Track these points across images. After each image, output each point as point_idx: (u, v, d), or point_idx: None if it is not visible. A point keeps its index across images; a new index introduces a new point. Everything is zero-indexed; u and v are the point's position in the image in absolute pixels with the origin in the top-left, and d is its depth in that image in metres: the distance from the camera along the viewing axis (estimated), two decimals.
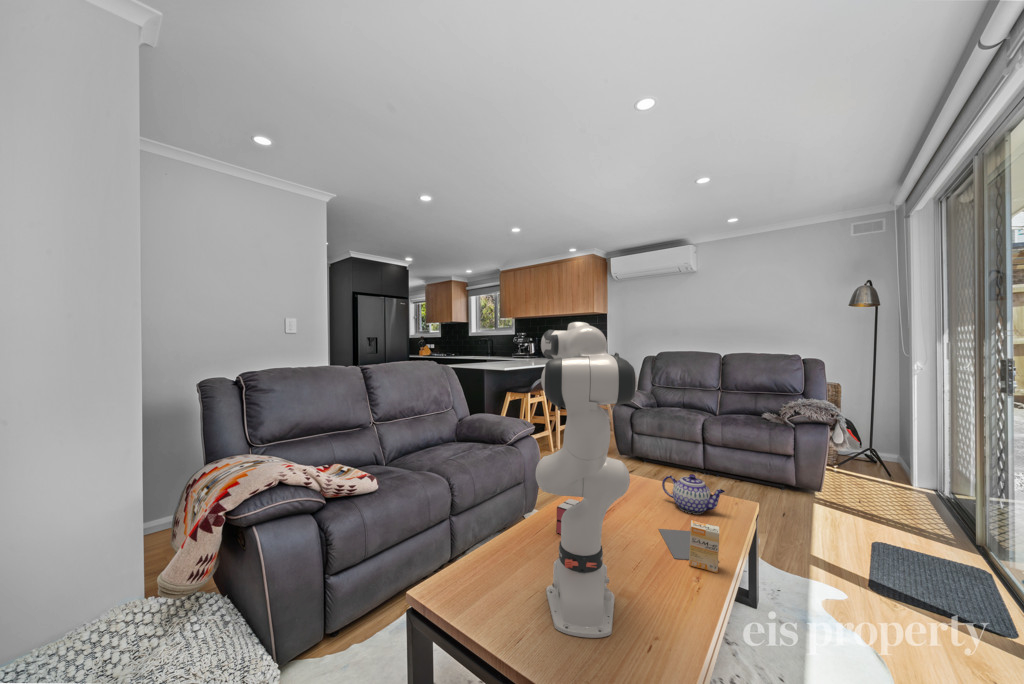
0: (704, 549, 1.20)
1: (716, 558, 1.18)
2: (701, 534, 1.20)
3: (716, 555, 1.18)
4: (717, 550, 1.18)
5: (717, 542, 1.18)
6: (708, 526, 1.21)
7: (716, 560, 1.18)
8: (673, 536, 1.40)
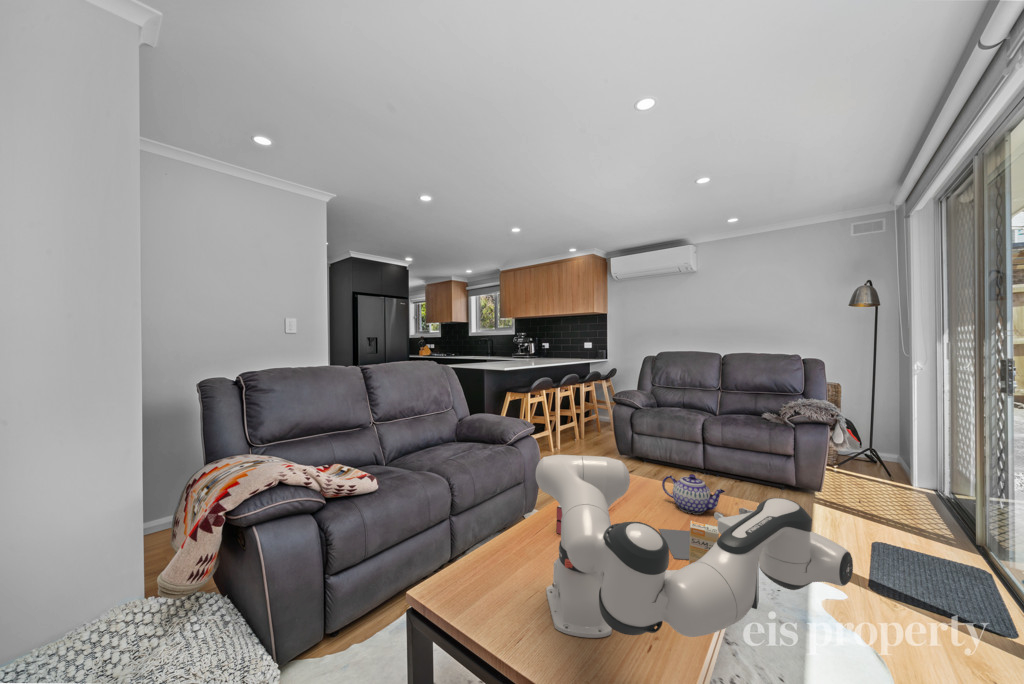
0: (703, 550, 1.19)
1: None
2: (700, 535, 1.20)
3: None
4: None
5: None
6: (707, 526, 1.21)
7: None
8: (673, 536, 1.40)
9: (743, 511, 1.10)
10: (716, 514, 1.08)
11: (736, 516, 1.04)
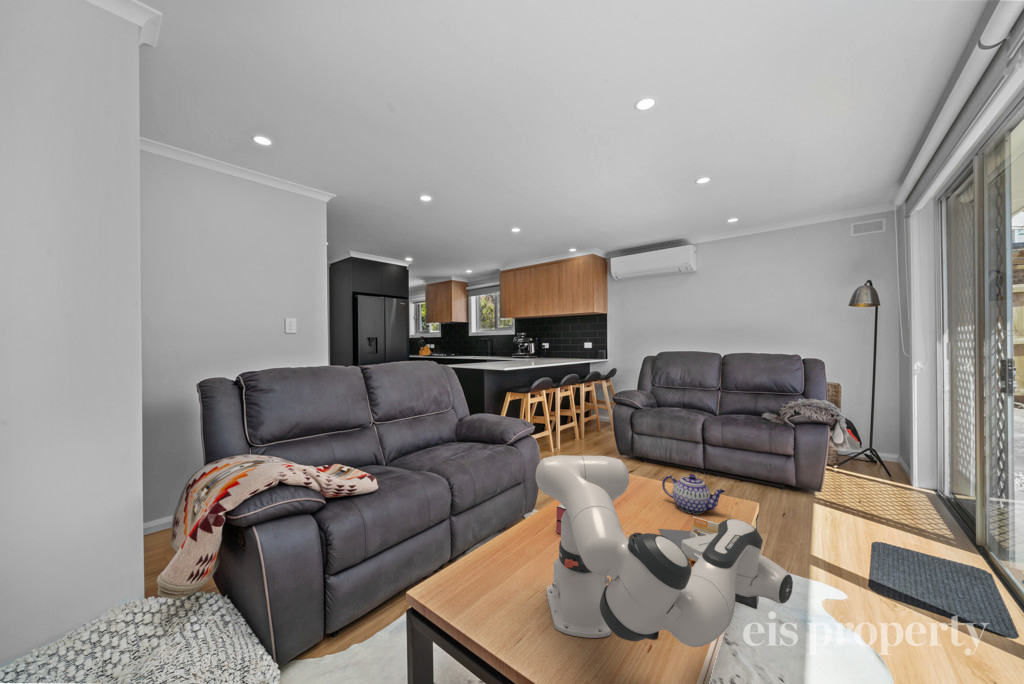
0: None
1: None
2: (703, 526, 1.23)
3: None
4: None
5: None
6: None
7: None
8: (673, 536, 1.40)
9: (697, 533, 1.21)
10: (692, 533, 1.21)
11: (698, 538, 1.16)
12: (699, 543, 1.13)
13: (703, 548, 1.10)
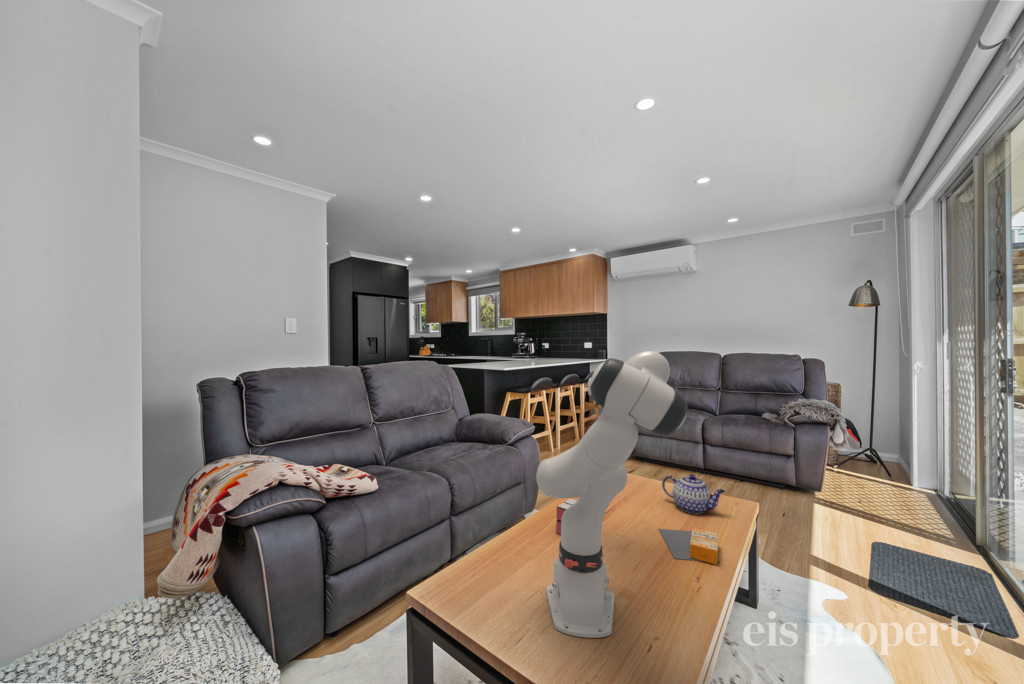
0: (704, 537, 1.30)
1: (716, 543, 1.27)
2: (701, 531, 1.34)
3: (715, 542, 1.28)
4: (716, 540, 1.29)
5: (716, 536, 1.31)
6: None
7: (716, 544, 1.26)
8: (673, 536, 1.40)
9: None
10: None
11: None
12: None
13: None
